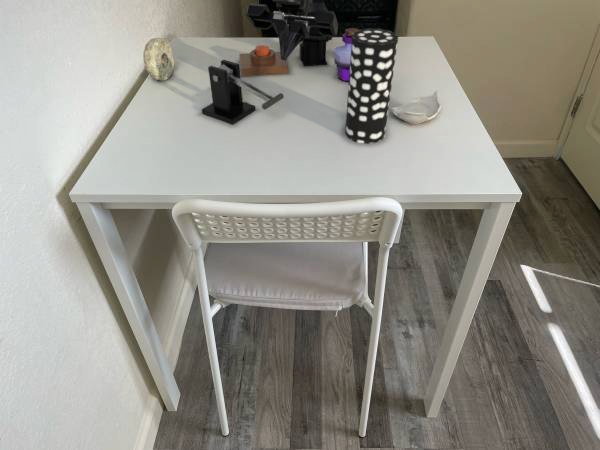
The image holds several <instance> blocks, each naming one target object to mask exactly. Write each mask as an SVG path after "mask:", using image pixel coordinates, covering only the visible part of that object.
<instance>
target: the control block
mask: <svg viewBox="0 0 600 450" xmlns="http://www.w3.org/2000/svg"><path fill="white" fill-rule="evenodd" d="M238 54H239V55H238V56H239V66H240V73H241V77H243V78H245V77H257V76H258V77H259V76H273V75H287V74H289V65H288V62H287V60H286V61H285V60H282V59H281V54H280V50H278V51H275V50H273V49H271V48H269V55H266V56H259V55H256V50H255V49H252V50H251V51H250V52H248V53H238Z"/></svg>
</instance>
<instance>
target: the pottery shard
mask: <svg viewBox="0 0 600 450" xmlns="http://www.w3.org/2000/svg"><path fill="white" fill-rule="evenodd" d="M439 98H440V97H439V93H438V90H434V92H433V94H432V95H425V96H420V97H416V98H414V99H413V100H411V101H409V102H407V103H403V104H401V105H399V106H393V107H391V112H392V113H393V115H394V116H396V117H397V119H400V120H402V121H404V122H406V123H408V124H411V125H419V124H422V123H424V122H427V121H430V120H432V119H434V118H435V117H437V115H439V112H440V110H441V107H442V105H441V103H440V99H439Z"/></svg>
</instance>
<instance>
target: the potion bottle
mask: <svg viewBox="0 0 600 450" xmlns="http://www.w3.org/2000/svg"><path fill="white" fill-rule="evenodd" d="M344 31H345V32H344V33H343V34H342V36H341V42H343V43H344V44H343V45H338V46H335V48H334V49H333V51H332V54H333V55H332V56H333V60H334V65H335V66H336V72H337V79H338V80H339V81H340V82H344V83H349V74H350V60H351V46H352V35H353V33H354V32H356V31H359V29H357V28H355V27H352V28H346V29H345V30H344Z"/></svg>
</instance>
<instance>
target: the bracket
mask: <svg viewBox="0 0 600 450" xmlns="http://www.w3.org/2000/svg"><path fill="white" fill-rule="evenodd" d="M223 64H224V65H225V66H227V67H229V68H231V69H233V75H235V76H236V77H238V78H240V79H242V78H241V66H240V63H237V62H234V61H230V60H227V59H222V60H220V66H221V65H223ZM217 67H218V66H217ZM217 67H216V66H213V65H210V66H208V67H207V71H208V76H209V84H210V90H211V98H212V103H210V104H209V105H206V106H205V107H203V108H201V114H202V115H204V116H207V117H210V118H213V119H215V120H218V121H220V122H223V123H226V124H230V125H235V124H236V123H238V122H240V121H241V120H243V119H244V118H247V117H248V116H249V115H251V114H252V113H254V112H256V105H254V104H251V103H248V102H245V101H243V90H242V89H243V88H242V87H240V86H238V85H237V84H235V83H233V82H231V81H229V82H228V77H227V70H224V69H220V68H217Z"/></svg>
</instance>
